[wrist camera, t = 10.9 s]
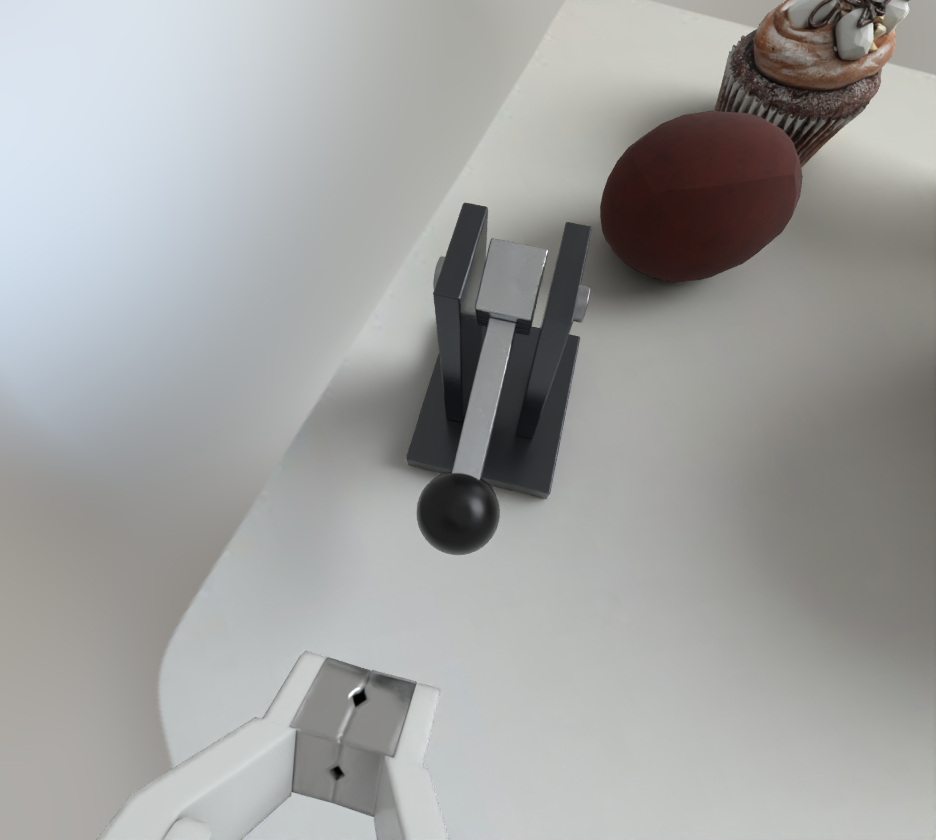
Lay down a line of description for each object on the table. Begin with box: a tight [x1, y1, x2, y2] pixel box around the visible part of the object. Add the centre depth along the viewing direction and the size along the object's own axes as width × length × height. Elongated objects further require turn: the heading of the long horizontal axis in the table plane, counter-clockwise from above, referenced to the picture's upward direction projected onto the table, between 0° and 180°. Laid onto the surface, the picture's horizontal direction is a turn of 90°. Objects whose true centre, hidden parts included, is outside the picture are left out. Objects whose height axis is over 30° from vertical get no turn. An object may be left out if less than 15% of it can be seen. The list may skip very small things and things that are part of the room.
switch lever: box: [417, 238, 548, 555], centre depth 20 cm, size 12×3×3 cm, turn 166°
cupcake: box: [714, 0, 909, 167], centre depth 34 cm, size 10×10×10 cm
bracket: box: [406, 203, 592, 499], centre depth 24 cm, size 10×8×13 cm
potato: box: [600, 111, 802, 282], centre depth 30 cm, size 9×12×9 cm
